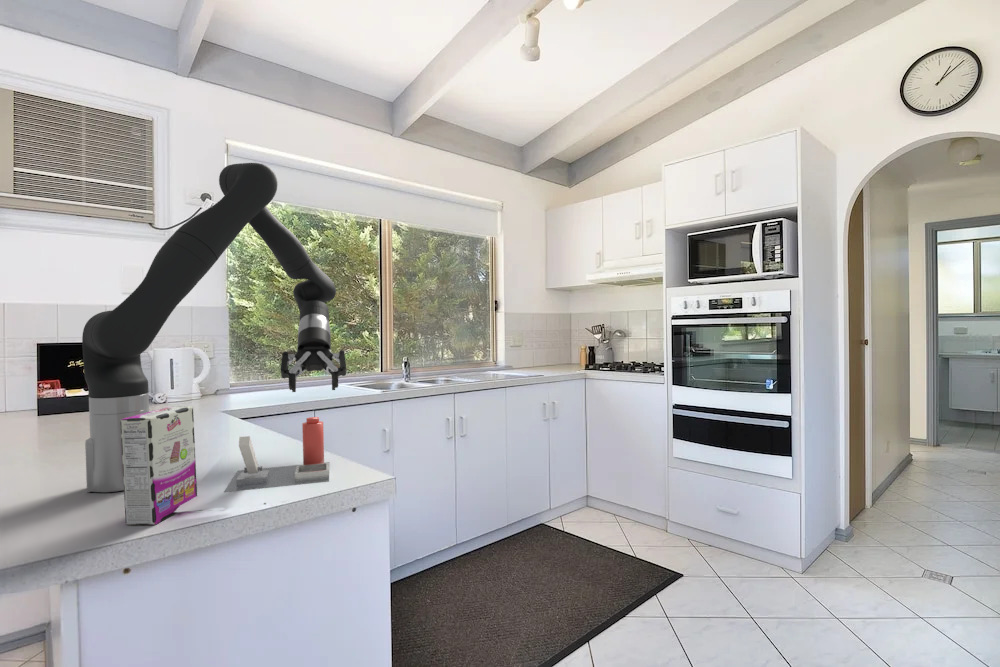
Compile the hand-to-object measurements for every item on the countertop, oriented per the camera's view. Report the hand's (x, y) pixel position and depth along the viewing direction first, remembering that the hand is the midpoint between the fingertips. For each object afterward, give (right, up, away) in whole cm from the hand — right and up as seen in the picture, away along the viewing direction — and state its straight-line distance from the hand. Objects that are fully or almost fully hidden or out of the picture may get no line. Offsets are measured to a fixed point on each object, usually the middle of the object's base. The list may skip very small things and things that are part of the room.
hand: (314, 388), depth 119 cm
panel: (0, -16, -17) cm, 23 cm away
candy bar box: (-13, -17, -33) cm, 39 cm away
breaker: (-5, -13, -19) cm, 24 cm away
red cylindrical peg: (+4, -15, -11) cm, 19 cm away
